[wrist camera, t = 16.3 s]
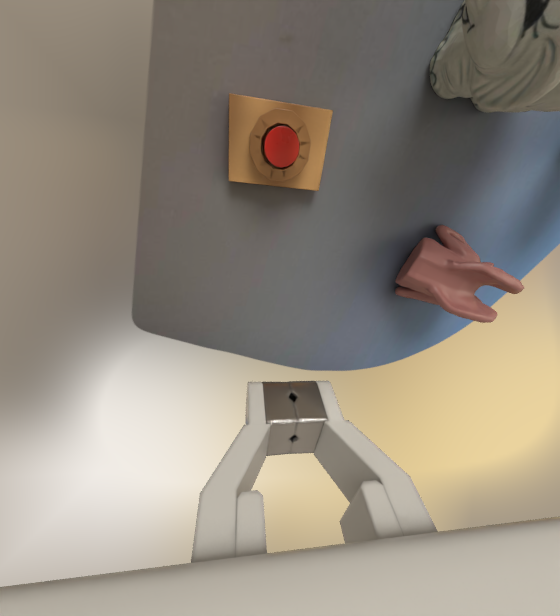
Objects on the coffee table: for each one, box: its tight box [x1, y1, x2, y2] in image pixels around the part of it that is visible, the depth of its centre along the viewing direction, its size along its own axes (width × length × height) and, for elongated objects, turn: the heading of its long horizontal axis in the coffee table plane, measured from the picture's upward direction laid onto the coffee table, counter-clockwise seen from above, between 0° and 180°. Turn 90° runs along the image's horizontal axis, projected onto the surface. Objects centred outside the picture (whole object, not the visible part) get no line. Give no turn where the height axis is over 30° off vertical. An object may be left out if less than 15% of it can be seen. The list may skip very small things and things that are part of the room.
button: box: [263, 126, 299, 167], centre depth 27 cm, size 4×4×2 cm
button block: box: [229, 93, 333, 191], centre depth 28 cm, size 11×8×4 cm
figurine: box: [395, 225, 524, 323], centre depth 38 cm, size 12×10×15 cm
